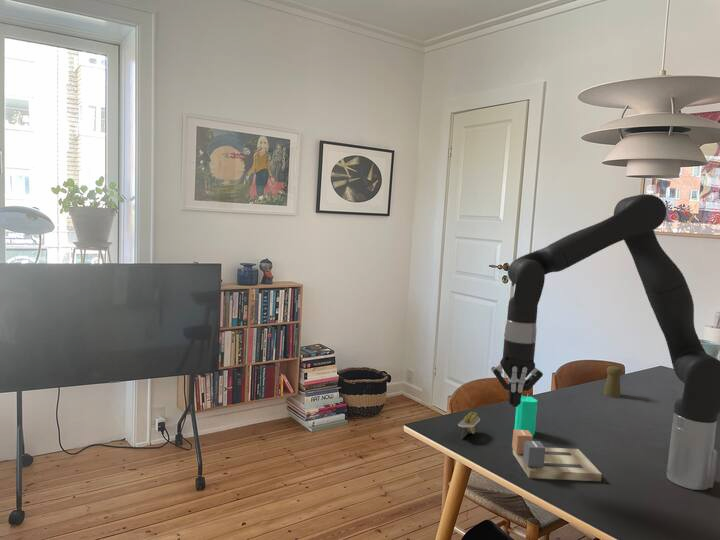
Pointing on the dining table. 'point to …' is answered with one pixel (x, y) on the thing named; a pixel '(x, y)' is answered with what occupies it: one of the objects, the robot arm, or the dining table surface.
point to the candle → (526, 414)
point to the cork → (613, 382)
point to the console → (562, 466)
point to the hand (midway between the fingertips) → (513, 405)
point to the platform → (469, 424)
